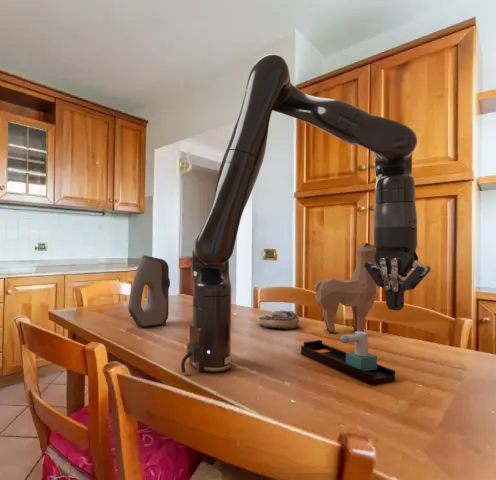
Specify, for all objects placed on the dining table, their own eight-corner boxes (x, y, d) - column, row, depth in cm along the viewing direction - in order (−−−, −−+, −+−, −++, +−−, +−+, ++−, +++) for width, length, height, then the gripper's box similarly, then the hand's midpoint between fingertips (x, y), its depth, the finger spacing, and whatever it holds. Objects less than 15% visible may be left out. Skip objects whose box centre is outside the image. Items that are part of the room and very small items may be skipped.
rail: (371, 385, 70) (371, 370, 70) (301, 353, 89) (301, 342, 89) (395, 380, 72) (395, 366, 72) (321, 351, 92) (321, 339, 92)
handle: (349, 374, 72) (349, 337, 72) (334, 367, 76) (334, 332, 76) (377, 369, 75) (377, 333, 75) (361, 363, 79) (361, 329, 79)
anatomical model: (252, 325, 120) (252, 312, 120) (279, 319, 130) (279, 307, 130) (281, 332, 110) (281, 318, 110) (308, 325, 120) (308, 312, 120)
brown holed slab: (170, 324, 121) (170, 255, 121) (132, 330, 112) (133, 256, 112) (161, 321, 126) (161, 254, 126) (124, 326, 117) (125, 255, 117)
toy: (384, 337, 105) (384, 242, 105) (316, 334, 109) (316, 242, 109) (373, 330, 114) (373, 242, 114) (310, 327, 118) (310, 242, 118)
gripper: (353, 226, 74) (354, 305, 74) (415, 223, 61) (415, 317, 61) (378, 227, 77) (378, 303, 76) (441, 224, 64) (442, 314, 64)
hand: (395, 309), depth 69 cm, fingers closed
